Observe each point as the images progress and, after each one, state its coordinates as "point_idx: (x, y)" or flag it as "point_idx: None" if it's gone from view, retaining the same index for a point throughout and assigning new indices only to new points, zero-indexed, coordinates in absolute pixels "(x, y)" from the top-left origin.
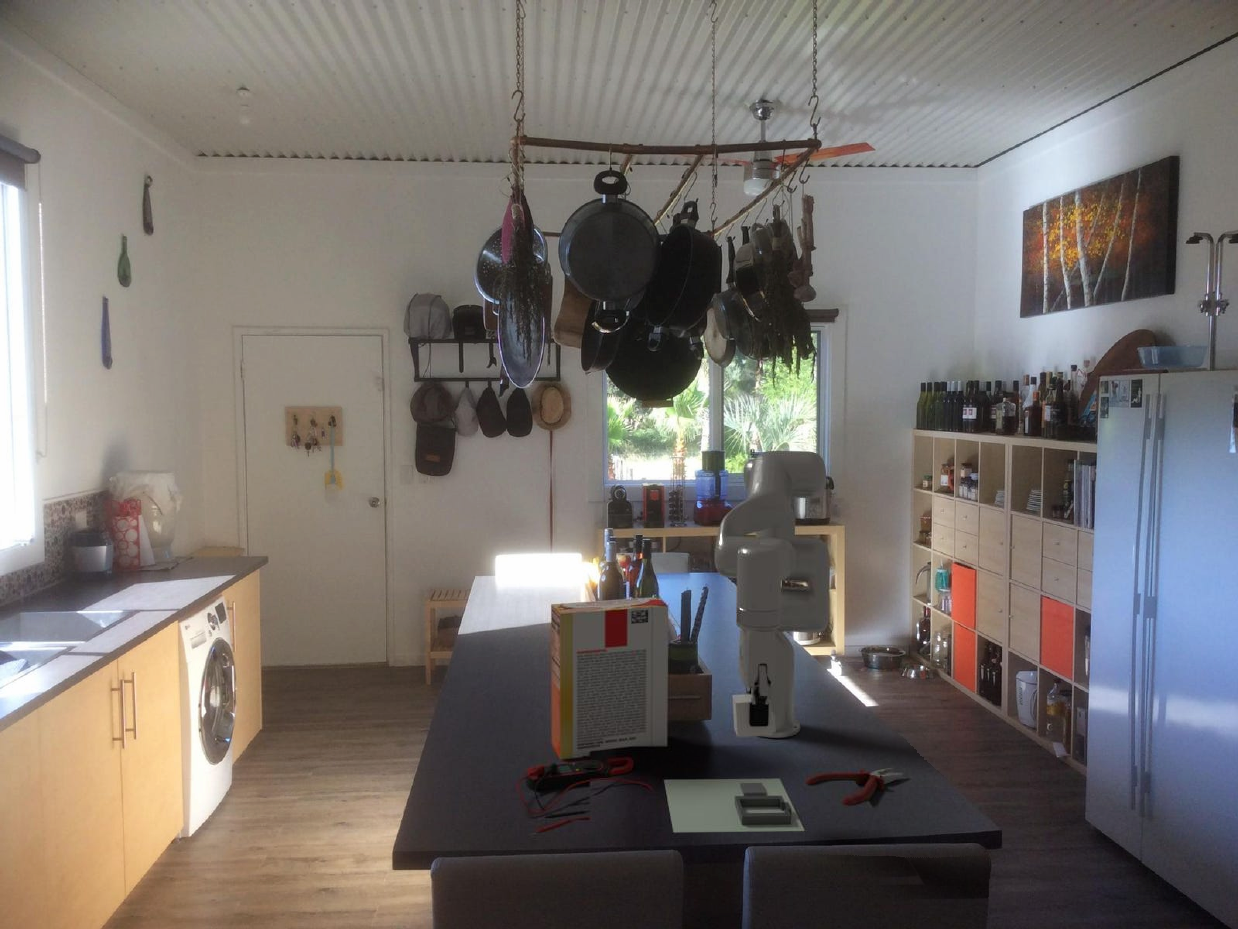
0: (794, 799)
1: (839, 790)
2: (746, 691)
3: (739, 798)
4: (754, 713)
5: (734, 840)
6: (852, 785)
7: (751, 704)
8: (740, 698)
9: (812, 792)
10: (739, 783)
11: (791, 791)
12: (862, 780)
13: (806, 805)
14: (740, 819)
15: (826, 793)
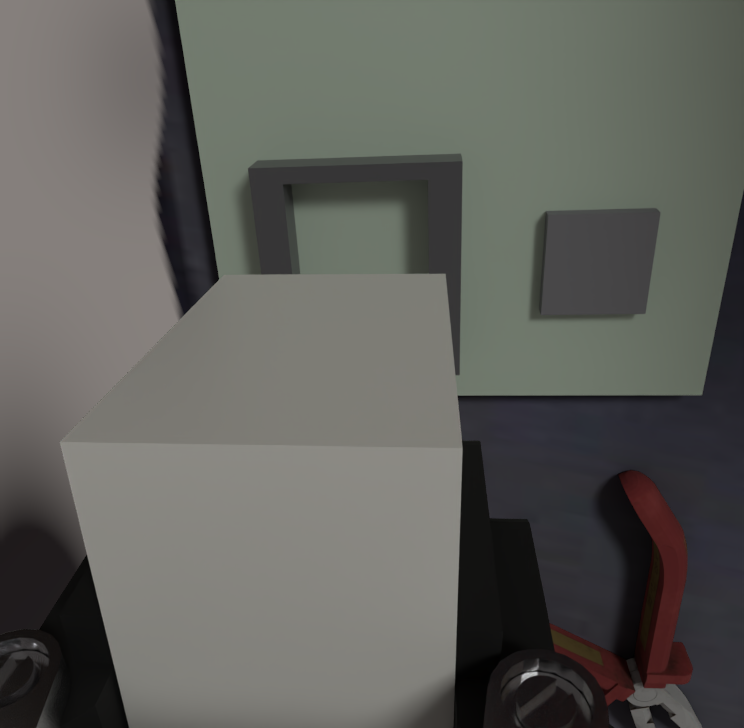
0: (542, 410)
1: (599, 566)
2: (564, 666)
3: (434, 182)
4: None
5: (179, 111)
6: (632, 610)
7: (66, 621)
8: (271, 538)
9: (595, 482)
10: (686, 208)
11: (615, 414)
12: (640, 649)
13: (487, 440)
14: (292, 160)
15: (580, 523)
